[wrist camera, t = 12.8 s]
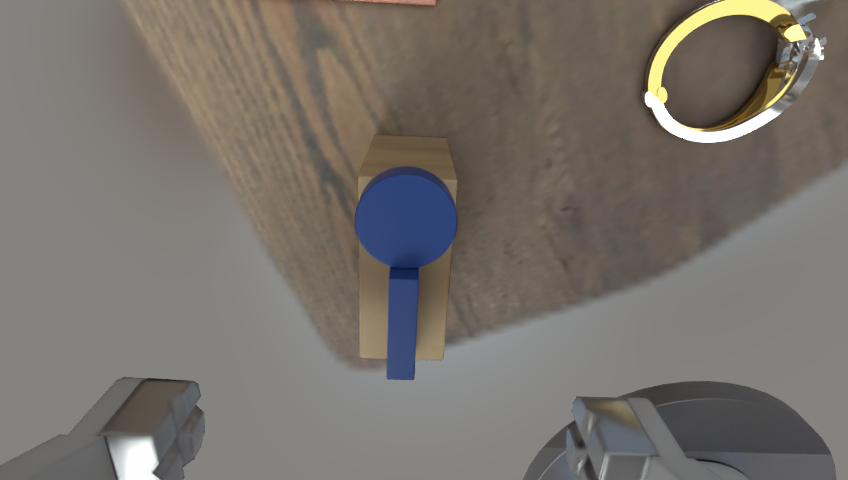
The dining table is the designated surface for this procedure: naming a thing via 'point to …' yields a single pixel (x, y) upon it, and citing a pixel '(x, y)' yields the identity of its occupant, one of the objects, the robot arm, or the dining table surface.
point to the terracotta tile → (398, 2)
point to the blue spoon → (405, 247)
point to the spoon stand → (431, 276)
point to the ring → (793, 56)
